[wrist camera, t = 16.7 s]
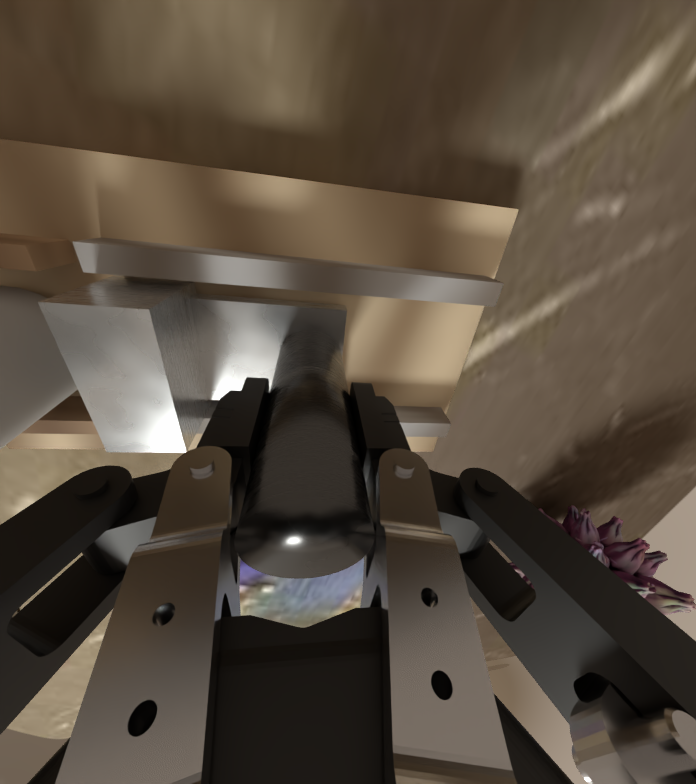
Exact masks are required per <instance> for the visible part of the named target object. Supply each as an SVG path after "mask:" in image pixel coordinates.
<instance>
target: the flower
mask: <svg viewBox="0 0 696 784" xmlns="http://www.w3.org/2000/svg"><path fill="white" fill-rule="evenodd" d="M538 510H540V511H541V512H542V513H543V514H544V515H546V514H545V512H544V511H543V510H542V509H541V508H539V509H538ZM546 516H547V517H548V518H549V519H550V520H552V521H553V522H554V523H555V524H556V525H558V526H559V527H560V528H561V529H562V530H564V531H565V532H566V533H567V534H568V535H569V536H571V537H572V538H573V539H574V540H575V541H577V542H578V543H579V544H580V545H581V546H583V547H584V548H585V549H586V550H587V551H589V552H590V553H591V554H592V555H593V556H595V557H596V558H597V559H598V560H599V561H600V562H602V563H603V564H604V565H605V566H606V567H608V568H609V569H610V570H611V571H612V572H614V573H615V574H616V575H617V576H618V577H620V578H621V579H622V580H623V581H624V582H626V583H627V584H628V585H629V586H630V587H631V588H633V589H634V590H635V591H636V592H637V593H639V594H640V595H641V596H642V597H643V598H645V599H646V600H647V601H648V602H649V603H651V604H652V605H653V606H654V607H655V608H656V609H658V610H659V611H660V612H661V613H662V614H664V615H668V614H671V613H676V612H687V613H689V612H691V610H696V608H695V607H696V604H695V603H694V602H693V601H694V599H693V598H692V596H691V595H690V594H687V593H682V592H678V591H676V590H674V589H672V588H671V587H669V586H667V585H666V584H664V583H662V582H661V581H658V580H657V579H655V578H653V575H654V574H655V572H656V570H657V568H658V566H659V564H660V563H662V562H664V561H666V560H668V559H667V555H666V554H665V553H662V552H661V551H656V552H652V553H645V551H646V550H648V549H649V546H650V545H649V544H647V543H646V541H645V540H642V539H641V538H638V539H636V540H634V541H631V542H623V538H622V535H621V526H622V524H623V520H621V519H619V518H616V517H615V516H613V518H612V519H611V520H610V521H609V522H608V523H605V524H603V525H601V526H599V527H598V528H596V527H595V525H594V524H593V522H592V520H591V515H590V512H589V511H586V509H585V508H584V509H581V512H580V515H579V513H578V509H577V508H576V507H575V506H574V505H572V506H571V507H568V514H567V516H566V518H565V519H564V521H563V523H562V524H561V523H559V522H558V521H556V520H555V519H553V518H551V517H549V516H548V515H546ZM509 564H510V566H511V567H512V568H513V569H514V570H515V571H516V572H517V573H518V574H519V575H520V576H521V577H522V578H523V579H524V580H525V581H526V583H527V584H528V585H529V586H531V587H532V588H533V589H534V587H533V585H532V583H531V582H530V580H529V579H528V578H527V577H526V576H525V575H524V574H523V573H522V571H521V570H520V569H519V568H518V567H517V566H516V565H515V564H514V563H513V562H512V563H509Z"/></svg>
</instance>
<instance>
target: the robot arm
mask: <svg viewBox="0 0 696 784" xmlns="http://www.w3.org/2000/svg"><path fill="white" fill-rule="evenodd" d="M268 397H269V379H268V378H253V377H247V378H246V380H245V382H244V385H243V387H242V390H241V391H235V390H230V391H229V392H228V393H227V394H225V395H224V396H223V397H221V398H220V400H219V402H218V404H217V406H216V410H214V412H213V414H212V418H210V420H209V423H208V425H207V427H206V429H205V431H204V433H203V435H202V437H201V439H200V441H199V443H198V445H197V447H196V448H195V449H192V450H190V451H188V452H186V453H184V454H183V455H181V456H180V457H179V458H178V459H177V460H176V461H175V462H174V463H173V465H172V467H171V469H169V470H167V471H163V472H160V473H155V474H151V475H147V476H142V477H138V478H133V479H132V477H131V474H130V473H129V471H128V470H127V469H125V468H123V467H120V466H101V467H97V468H93V469H90V470H87V471H85V472H82V473H80V474H78V475H76V476H74V477H73V478H71V479H69V480H68V481H66V482H65V483H63V484H62V485H60V486H59V487H57V488H56V489H54V490H53V491H51V492H50V493H48V494H47V495H45V496H44V497H42V498H41V499H39V500H38V501H36V502H35V503H33V504H31V505H30V506H28V507H27V508H25V509H24V510H22V511H21V512H19V513H18V514H16V515H15V516H13V517H12V518H10V519H9V520H7V521H6V522H4V523H3V524H1V525H0V734H1V733H2V732H3V731H4V730H5V729H6V728H7V727H8V725H9V724H10V723H11V722H12V721H13V720H14V719H15V718H16V717H17V715H18V714H19V713H20V712H21V711H22V710H23V709H24V708H25V706H26V705H27V704H28V703H29V702H30V701H31V700H32V699H33V697H34V696H35V695H36V694H37V693H38V692H39V691H40V690H41V688H42V687H43V686H44V685H45V684H46V683H47V682H48V681H49V679H50V678H51V677H52V676H53V675H54V674H55V673H56V672H57V671H58V669H59V668H60V667H61V666H62V665H63V664H64V663H65V662H66V660H67V659H68V658H69V657H70V656H71V655H72V654H73V653H74V651H75V650H76V649H77V648H78V647H79V646H80V645H81V644H82V642H83V641H84V640H85V639H86V638H87V637H88V636H89V635H90V633H91V632H92V631H93V630H94V629H95V628H96V627H97V626H98V624H99V623H100V622H101V621H102V620H103V619H104V618H105V617H106V616H107V614H108V613H109V612H110V611H111V610H112V609H113V611H112V614H111V617H110V620H109V623H108V626H107V629H106V632H105V635H104V638H103V641H102V644H101V647H100V650H99V653H98V656H97V659H96V662H95V665H94V668H93V671H92V674H91V677H90V680H89V683H88V686H87V689H86V692H85V695H84V698H83V701H82V704H81V707H80V710H79V713H78V716H77V719H76V722H75V725H74V728H73V731H72V734H71V737H70V738H69V739H68V740H67V742H66V743H65V744H64V745H63V746H62V747H61V748H60V749H59V750H58V751H57V752H56V753H55V754H54V756H53V757H52V758H51V759H50V760H49V761H48V762H47V763H46V764H45V765H44V766H43V767H42V768H41V769H40V771H39V772H38V773H37V774H36V775H35V776H34V777H33V778H32V779H31V780H30V781H29V783H27V784H574V783H572V781H571V780H570V779H569V778H568V777H567V775H566V774H565V773H564V772H563V771H562V770H561V769H560V768H559V766H558V765H557V764H556V763H555V762H554V761H553V760H552V759H551V757H550V756H549V755H548V754H547V753H546V752H545V751H544V750H543V748H542V747H541V746H540V745H539V744H538V743H537V742H536V741H535V739H534V738H533V737H532V736H531V735H530V734H529V733H528V731H526V729H525V728H524V727H523V726H522V725H521V724H520V722H519V721H518V720H517V719H516V718H515V717H514V716H513V715H512V713H511V712H510V711H509V710H508V709H507V708H506V707H505V705H504V704H503V703H502V702H501V701H500V700H499V699H498V698H497V696H496V695H495V694H494V693H493V689H492V685H491V681H490V677H489V673H488V669H487V665H486V661H485V657H484V653H483V649H482V645H481V641H480V636H479V632H478V628H477V624H476V620H475V616H474V612H473V608H472V604H471V600H470V597H471V598H472V599H473V601H474V602H475V603H476V605H477V606H478V607H479V608H480V610H481V611H482V612H483V614H484V615H485V616H486V617H487V619H488V620H489V621H490V623H491V624H492V625H493V626H494V628H495V629H496V630H497V632H498V633H499V634H500V635H501V637H502V638H503V639H504V641H505V642H506V643H507V645H508V646H509V647H510V648H511V650H512V651H513V652H514V654H515V655H516V656H517V657H518V659H519V660H520V661H521V662H522V664H523V665H524V666H525V668H526V669H527V670H528V672H529V673H530V674H531V676H532V677H533V678H534V679H535V681H536V682H537V683H538V685H539V686H540V687H541V688H542V690H543V691H544V692H545V694H546V695H547V696H548V697H549V699H550V700H551V701H552V703H553V704H554V705H555V707H556V708H557V709H558V710H559V711H560V713H561V714H562V716H563V717H564V718H565V719H566V721H567V722H568V723H569V725H570V733H571V738H572V742H573V746H572V755H573V759H574V762H575V764H576V767H577V769H578V770H579V772H580V774H581V775H582V776H583V778H584V779H585V780H586V781H587V782H588V783H589V784H696V641H695V640H693V639H692V638H691V637H690V636H689V635H687V634H686V633H685V632H684V631H683V630H681V629H680V628H679V627H678V626H677V625H676V624H674V623H673V622H672V621H671V620H670V619H668V618H667V617H666V616H665V615H664V614H662V613H661V612H660V611H659V610H658V609H656V608H655V607H654V606H653V605H652V604H651V603H649V602H648V601H647V600H646V599H645V598H643V597H642V596H641V595H640V594H639V593H637V592H636V591H635V590H634V589H633V588H631V587H630V586H629V585H628V584H627V583H626V582H624V581H623V580H622V579H621V578H620V577H618V576H617V575H616V574H615V573H614V572H612V571H611V570H610V569H609V568H608V567H606V566H605V565H604V564H603V563H602V562H600V561H599V560H598V559H597V558H596V557H595V556H593V555H592V554H591V553H590V552H589V551H587V550H586V549H585V548H584V547H583V546H581V545H580V544H579V543H578V542H577V541H575V540H574V539H573V538H572V537H571V536H569V535H568V534H567V533H566V532H565V531H564V530H562V529H561V528H560V527H559V526H558V525H556V524H555V523H554V522H553V521H552V520H550V519H549V518H548V517H547V516H546V515H544V514H543V513H542V512H541V511H540V510H538V509H537V508H536V507H535V506H534V505H533V504H531V503H530V502H529V501H528V500H527V499H525V498H524V497H523V496H522V495H521V494H519V493H518V492H517V491H516V490H515V489H513V488H512V487H511V486H510V485H509V484H507V483H506V482H505V481H504V480H503V479H501V478H500V477H499V476H497V475H496V474H494V473H492V472H490V471H487V470H485V469H481V468H468V469H466V470H464V471H463V472H462V473H461V475H460V477H459V478H456V477H453V476H449V475H445V474H441V473H438V472H434V471H432V470H430V469H429V468H428V465H427V464H426V462H425V461H424V460H423V459H422V458H421V457H420V456H419V455H417V454H416V453H414V452H412V451H411V449H410V446H409V444H408V441H407V439H406V436H405V434H404V431H403V429H402V426H401V424H400V421H399V419H398V416H397V414H396V411H395V408H394V406H393V404H392V403H391V402H390V401H389V400H388V399H387V398H386V397H385V396H376V395H375V392H374V389H373V386H372V384H371V383H361V382H352V383H351V387H350V394H349V397H350V402H351V408H352V413H353V419H354V424H355V429H356V435H357V440H358V445H359V451H360V456H361V462H362V467H363V472H364V478H365V483H366V488H367V494H368V499H369V505H370V510H371V515H372V521H373V526H374V532H375V538H374V543H373V545H372V547H371V549H370V551H369V552H368V553H367V554H366V555H365V556H364V575H363V591H362V598H361V606H360V608H355V609H352V610H350V611H347V612H345V613H342V614H339V615H337V616H334V617H332V618H329V619H327V620H324V621H322V622H319V623H317V624H314V625H312V626H309V627H306V628H300V627H295V626H291V625H287V624H283V623H279V622H275V621H271V620H267V619H263V618H259V617H255V616H251V615H247V616H240V598H239V582H240V557H239V556H238V554H237V552H236V550H235V546H234V540H235V534H236V530H237V526H238V522H239V518H240V514H241V509H242V505H243V501H244V497H245V493H246V489H247V484H248V480H249V476H250V472H251V468H252V464H253V459H254V455H255V451H256V447H257V443H258V439H259V434H260V430H261V426H262V422H263V418H264V414H265V409H266V405H267V401H268ZM490 539H491V540H492V541H493V542H494V543H495V544H496V545H497V546H498V547H499V548H500V550H501V551H502V552H503V553H504V554H505V555H506V556H507V557H508V558H509V559H510V560H511V561H512V562H513V563H514V564H515V565H516V566H517V567H518V568H519V569H520V570H521V571H522V573H523V574H524V575H525V576H526V577H527V578H528V579H529V580H530V582H531V583H532V585H533V587H534V589H533V588H532V587H531V586H529V585H528V584H527V583H526V581H525V580H524V579H523V578H522V577H521V576H520V575H519V574H518V573H517V572H516V571H515V570H514V569H513V568H512V567H511V566H510V564H509V563H508V562H507V561H506V560H505V559H504V558H503V557H502V556H501V555H500V554H499V553H498V552H497V551H496V550H495V549H494V548H493V546H492V545H491V544H490V543H489V541H490ZM81 552H82V554H83V555H82V556H81V557H80V558H79V559H78V560H77V561H76V562H75V563H73V564H72V565H71V566H70V567H69V568H68V569H67V570H66V571H64V572H63V573H62V574H61V575H60V576H59V577H58V578H57V579H55V580H54V581H53V582H52V583H51V584H50V585H49V586H48V587H46V588H45V589H44V590H43V591H42V592H41V593H40V594H39V595H37V596H36V597H35V598H34V599H33V600H32V601H31V602H30V603H28V604H27V605H26V606H25V607H24V608H23V609H22V610H21V611H19V612H17V610H18V609H19V607H20V606H21V605H22V604H23V603H25V602H26V601H27V600H28V599H29V598H30V597H31V596H32V595H34V594H35V593H36V592H37V591H38V590H39V589H40V588H42V587H43V586H44V585H45V584H46V583H47V582H48V581H50V580H51V579H52V578H53V577H54V576H55V575H56V574H58V573H59V572H60V571H61V570H62V569H63V568H64V567H65V566H67V565H68V564H69V563H70V562H71V561H72V560H73V559H75V558H76V557H77V556H78V555H79V554H80V553H81ZM469 595H470V596H469Z"/></svg>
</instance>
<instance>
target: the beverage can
mask: <svg viewBox="0 0 696 784" xmlns="http://www.w3.org/2000/svg"><path fill="white" fill-rule="evenodd" d="M44 299H47V298H46V297H44V296H42V295H40V294H38V293H34V292H31V291H28V290H25V289H22V288H18V287H8V286H0V449H1V448H3V447H4V446H5V445H6V444H8V443H9V442H10V441H12V440H13V439H14V438H15V437H17V436H18V435H19V434H21V433H22V432H23V431H25V430H26V429H27V428H28V427H30V426H31V425H32V424H34V423H35V422H36V421H37V420H39V419H40V418H41V417H43V416H44V415H45V414H47V413H48V412H49V411H50V410H52V409H53V408H54V407H56V406H57V405H58V404H59V403H61V402H62V401H63V400H65V399H66V398H67V397H69V396H70V395H71V394H72V393H74V392H75V391H76V390H78V389H77V386H76V384H75V382H74V380H73V378H72V376H71V373H70V371H69V369H68V367H67V365H66V363H65V360H64V358H63V356H62V354H61V352H60V350H59V348H58V345H57V343H56V341H55V339H54V337H53V335H52V332H51V330H50V328H49V326H48V324H47V322H46V319H45V317H44V315H43V313H42V311H41V309H40V306H39V304H38V301H41V300H44Z"/></svg>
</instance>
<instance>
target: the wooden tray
mask: <svg viewBox="0 0 696 784" xmlns="http://www.w3.org/2000/svg"><path fill="white" fill-rule="evenodd" d="M518 211H519V209H512V208H505V207H498V206H490V205H483V204H476V203H468V202H461V201H454V200H447V199H439V198H432V197H425V196H417V195H410V194H403V193H395V192H388V191H381V190H373V189H366V188H359V187H351V186H344V185H337V184H329V183H322V182H315V181H307V180H300V179H293V178H286V177H278V176H271V175H264V174H256V173H249V172H242V171H234V170H227V169H220V168H212V167H205V166H198V165H190V164H183V163H176V162H168V161H161V160H154V159H146V158H139V157H132V156H124V155H117V154H110V153H103V152H95V151H88V150H81V149H73V148H66V147H59V146H51V145H44V144H37V143H29V142H22V141H15V140H7V139H0V286H8V287H18V288H22V289H25V290H28V291H31V292H34V293H38V294H40V295H42V296H44V297H46V298H50V297H53V296H56V295H59V294H62V293H65V292H68V291H70V290H73V289H76V288H79V287H82V286H85V285H88V284H91V283H94V282H97V281H99V280H102V279H105V278H108V277H111V276H114V275H121V276H133V277H145V278H157V279H169V280H181V281H193V282H195V288H196V293H197V294H210V295H223V296H236V297H248V298H261V299H274V300H287V301H299V302H312V303H325V304H338V305H346V308H347V316H346V326H345V336H344V345H343V355H342V359H343V365H344V370H345V375H346V381H347V386H348V392H349V394H350V387H351V383H352V382H361V383H371V384H372V386H373V389H374V392H375V395H376V396H385V397H386V398H387V399H388V400H389V401H390V402H391V403H392V404H393V406H394V408H395V411H396V414H397V416H398V419H399V421H400V424H401V426H402V429H403V431H404V434H405V436H406V439H407V441H408V444H409V446H410V449H411V451H412V452H433V450H434V447H435V444H436V441H437V438H438V437H446V436H447V434H448V431H449V428H450V426H451V423H450V421H449V419H448V418H447V416H446V413H447V410H448V407H449V405H450V402H451V399H452V396H453V393H454V391H455V388H456V385H457V382H458V379H459V376H460V374H461V371H462V368H463V365H464V362H465V360H466V357H467V354H468V351H469V348H470V346H471V343H472V340H473V337H474V334H475V331H476V329H477V326H478V323H479V320H480V317H481V315H482V312H483V309H484V306H492V307H495V306H496V303H497V301H498V298H499V295H500V293H501V290H502V287H503V285H504V283H502V282H500V281H497V280H495V279H494V278H495V275H496V272H497V270H498V267H499V264H500V261H501V258H502V256H503V253H504V250H505V247H506V244H507V242H508V239H509V236H510V233H511V230H512V227H513V225H514V222H515V219H516V216H517V213H518ZM218 402H219V400H214V401H213V402H212V404H211V406H210V408H209V410H208V412H207V414H206V416H205V418H204V420H203V422H202V424H201V426H200V427H199V429H198V431H197V433H196V435H195V437H194V439H193V441H192V443H191V445H190V447H189V449H188V450H192V449H195V448H196V447H197V445H198V443H199V441H200V439H201V437H202V435H203V433H204V431H205V429H206V427H207V425H208V423H209V420H210V418H212V414H213V412H214V410H216V406H217V404H218ZM6 445H7V447H8V448H9V449H105V447H104V445H103V443H102V441H101V438H100V436H99V434H98V432H97V430H96V428H95V425H94V423H93V421H92V419H91V417H90V415H89V412H88V410H87V408H86V406H85V404H84V402H83V399H82V397H81V395H80V393H79V391H78V390H76V391H75V392H74V393H72V394H71V395H70V396H69V397H67V398H66V399H65V400H63V401H62V402H61V403H59V404H58V405H57V406H56V407H54V408H53V409H52V410H50V411H49V412H48V413H47V414H45V415H44V416H43V417H41V418H40V419H39V420H37V421H36V422H35V423H34V424H32V425H31V426H30V427H28V428H27V429H26V430H25V431H23V432H22V433H21V434H19V435H18V436H17V437H15V438H14V439H13V440H12V441H10V442H9V443H8V444H6Z"/></svg>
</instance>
